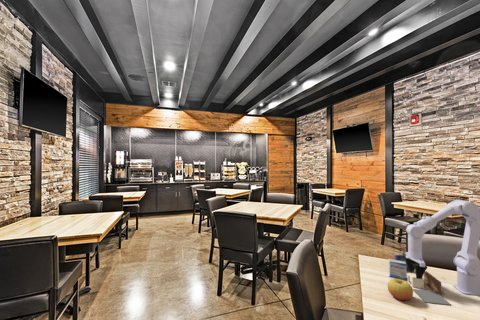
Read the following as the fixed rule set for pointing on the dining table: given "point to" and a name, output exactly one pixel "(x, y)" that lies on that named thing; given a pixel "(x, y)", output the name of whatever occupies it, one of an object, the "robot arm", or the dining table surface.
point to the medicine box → (397, 269)
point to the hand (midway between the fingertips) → (415, 275)
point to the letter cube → (415, 281)
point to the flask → (400, 257)
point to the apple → (400, 289)
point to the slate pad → (431, 297)
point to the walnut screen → (432, 283)
